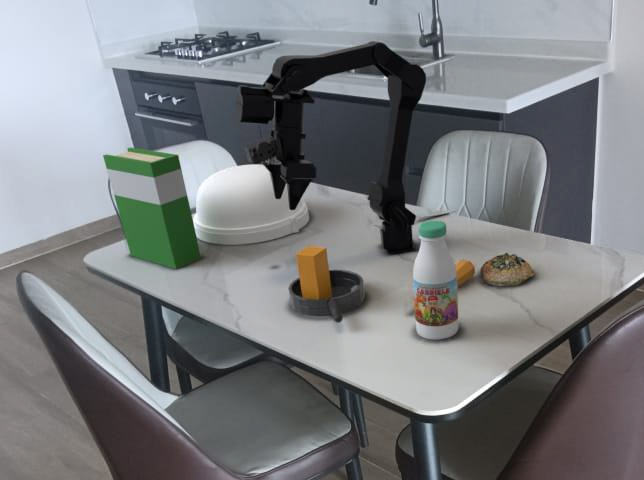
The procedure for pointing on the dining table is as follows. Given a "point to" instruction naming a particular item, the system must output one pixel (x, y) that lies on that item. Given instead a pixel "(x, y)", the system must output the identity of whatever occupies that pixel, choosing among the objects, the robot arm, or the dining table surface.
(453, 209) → the fork
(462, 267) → the carrot
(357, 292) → the pan
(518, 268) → the bread roll
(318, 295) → the cheese
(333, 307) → the pan handle
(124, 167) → the hardback book
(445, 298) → the milk bottle
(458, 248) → the dining table surface
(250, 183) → the dome cover
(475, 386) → the dining table surface
